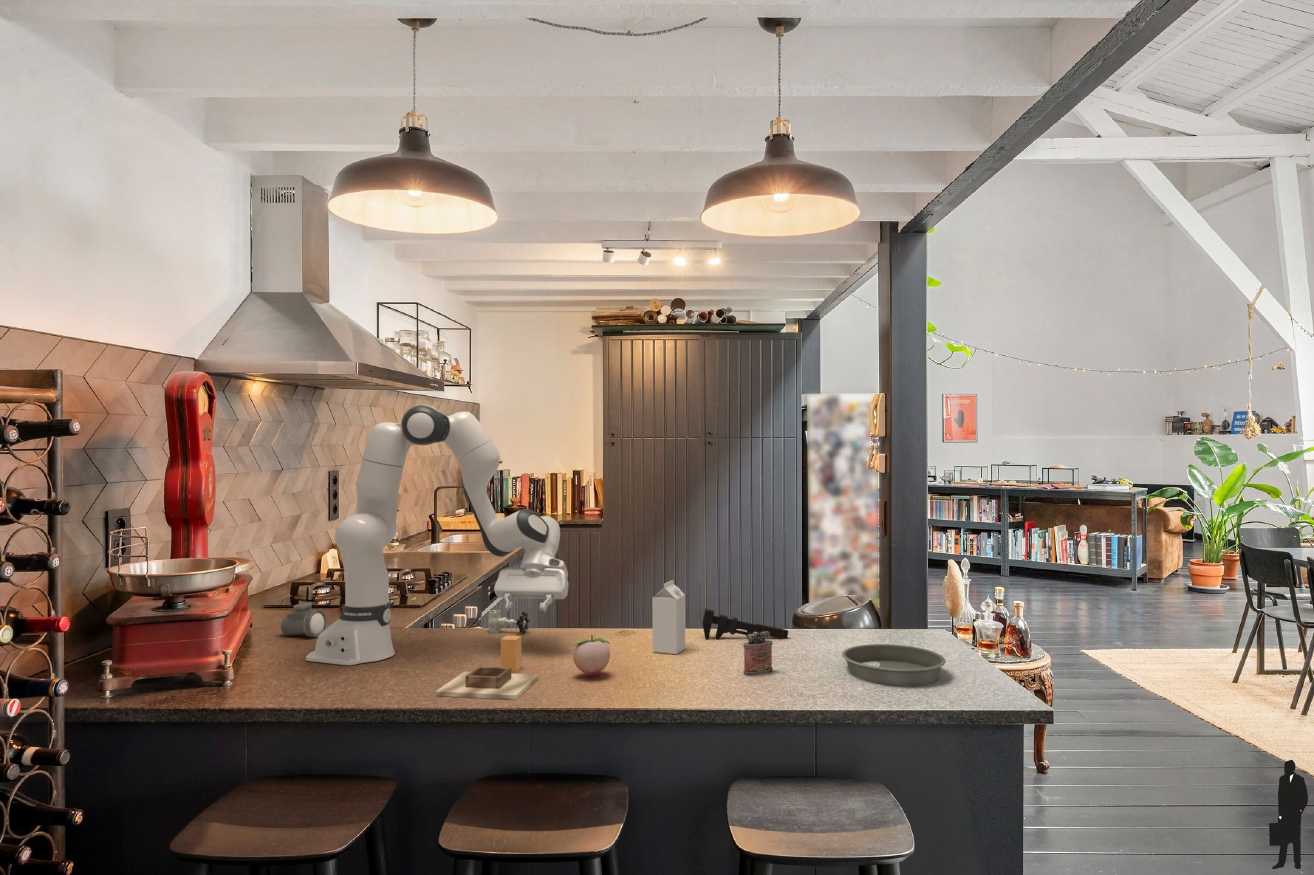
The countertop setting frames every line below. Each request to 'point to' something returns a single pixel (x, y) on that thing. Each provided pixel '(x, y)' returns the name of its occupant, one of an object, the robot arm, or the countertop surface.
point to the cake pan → (894, 664)
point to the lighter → (758, 654)
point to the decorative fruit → (591, 655)
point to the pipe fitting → (304, 621)
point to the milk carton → (669, 619)
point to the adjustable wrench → (737, 626)
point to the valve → (506, 622)
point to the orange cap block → (511, 652)
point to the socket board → (488, 684)
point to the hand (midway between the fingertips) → (525, 609)
